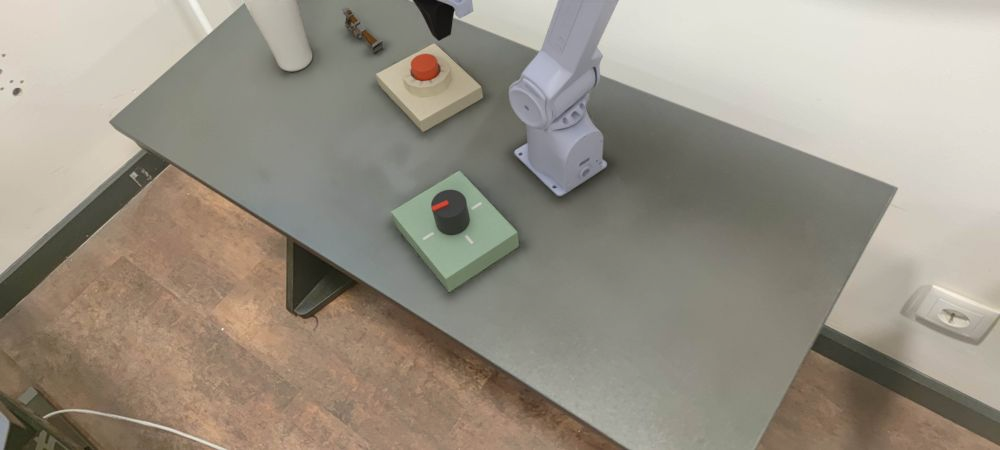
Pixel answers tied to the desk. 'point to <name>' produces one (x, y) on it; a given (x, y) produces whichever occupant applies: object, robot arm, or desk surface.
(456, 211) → the dial
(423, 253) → the dial panel
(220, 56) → the desk surface
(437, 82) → the push button base
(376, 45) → the wooden post with brackets
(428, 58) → the power button
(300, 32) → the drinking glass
